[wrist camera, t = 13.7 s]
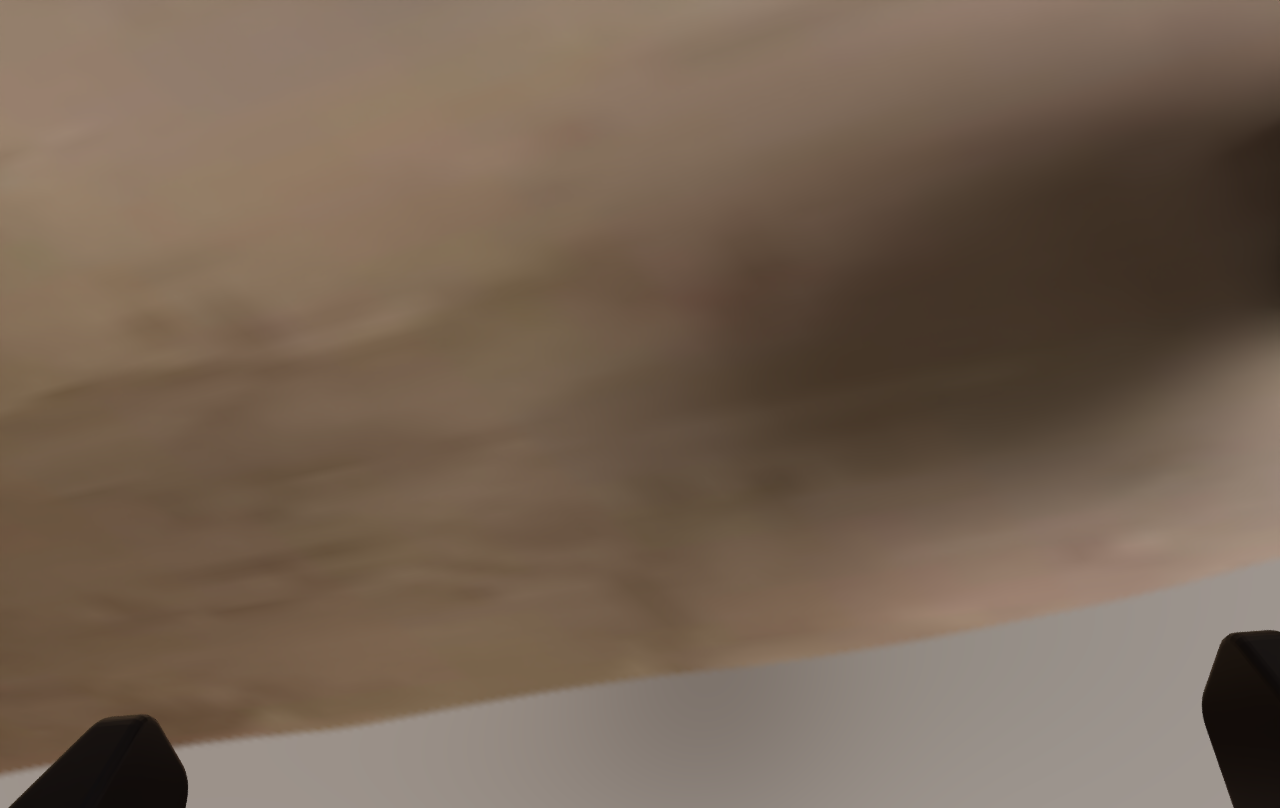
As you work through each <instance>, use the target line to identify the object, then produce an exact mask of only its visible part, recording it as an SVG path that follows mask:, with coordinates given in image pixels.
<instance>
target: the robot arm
mask: <svg viewBox="0 0 1280 808" xmlns="http://www.w3.org/2000/svg"><path fill="white" fill-rule="evenodd" d="M1202 713H1203V718H1204V723H1205V726H1206V729H1207V732H1208V735H1209V738H1210V741H1211V743H1212V746H1213V749H1214V752H1215V755H1216V758H1217V761H1218V764H1219V767H1220V770H1221V772H1222V775H1223V778H1224V781H1225V784H1226V787H1227V790H1228V793H1229V796H1230V798H1231V801H1232V804H1233V807H1234V808H1280V632H1279V631H1274V630H1264V631H1250V632H1237V633H1231V634H1229V635H1228V636H1226V637H1225V638H1224V639H1223V640H1222V642H1221V644H1220V647H1219V649H1218V652H1217V655H1216V658H1215V661H1214V663H1213V667H1212V669H1211V672H1210V675H1209V678H1208V681H1207V684H1206V686H1205V689H1204V692H1203V697H1202ZM187 796H188V780H187V776H186V771H185V769H184V766H183V765H182V763H181V761H180V759H179V758H178V756H177V754H176V753H175V751H174V749H173V747H172V745H171V744H170V742H169V740H168V739H167V737H166V735H165V733H164V732H163V730H162V728H161V726H160V725H159V723H158V722H157V721H156V719H154V718H153V717H151V716H149V715H144V714H141V715H127V716H114V717H108V718H104V719H102V720H100V721H99V722H97V723H95V724H94V725H93V726H92V727H91V728H89V729H88V730H87V731H86V732H85V733H84V734H83V735H82V736H81V737H80V738H79V739H78V740H77V741H76V742H75V743H74V744H73V745H72V746H71V747H70V748H69V749H68V750H67V751H66V752H65V753H64V754H63V755H62V756H61V757H60V758H59V759H58V760H57V761H56V762H55V763H54V764H53V765H52V766H51V767H50V768H49V769H47V770H46V771H45V772H44V773H43V774H42V776H41V777H39V779H37V780H36V781H35V782H34V783H33V784H32V785H31V786H30V787H29V788H28V789H27V790H26V791H25V792H24V793H23V794H22V795H21V796H20V797H19V798H18V799H17V800H16V801H15V802H14V803H13V804H12V805H11V806H10V807H9V808H186V803H187Z"/></svg>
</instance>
